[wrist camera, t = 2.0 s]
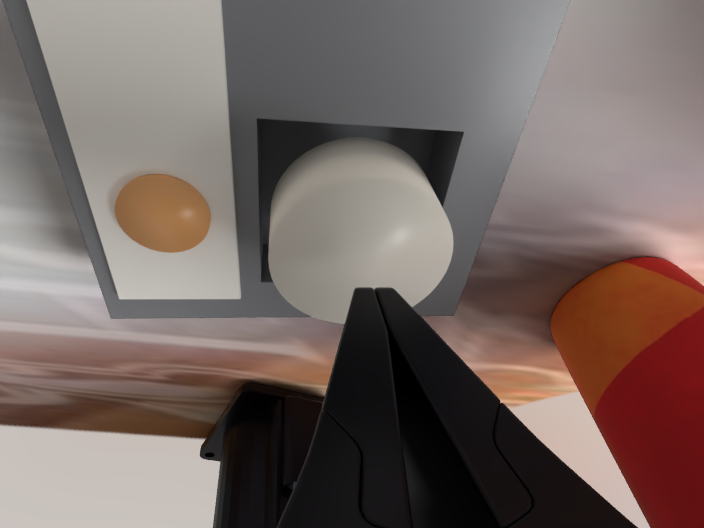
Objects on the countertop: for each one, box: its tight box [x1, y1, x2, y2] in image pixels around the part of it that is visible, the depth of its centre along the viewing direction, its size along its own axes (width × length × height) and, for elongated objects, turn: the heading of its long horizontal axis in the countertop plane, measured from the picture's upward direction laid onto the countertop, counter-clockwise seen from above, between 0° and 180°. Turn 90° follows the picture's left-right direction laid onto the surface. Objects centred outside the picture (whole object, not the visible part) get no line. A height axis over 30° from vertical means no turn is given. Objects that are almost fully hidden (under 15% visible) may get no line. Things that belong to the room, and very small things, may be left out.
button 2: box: [268, 137, 454, 324], centre depth 11 cm, size 4×4×2 cm
